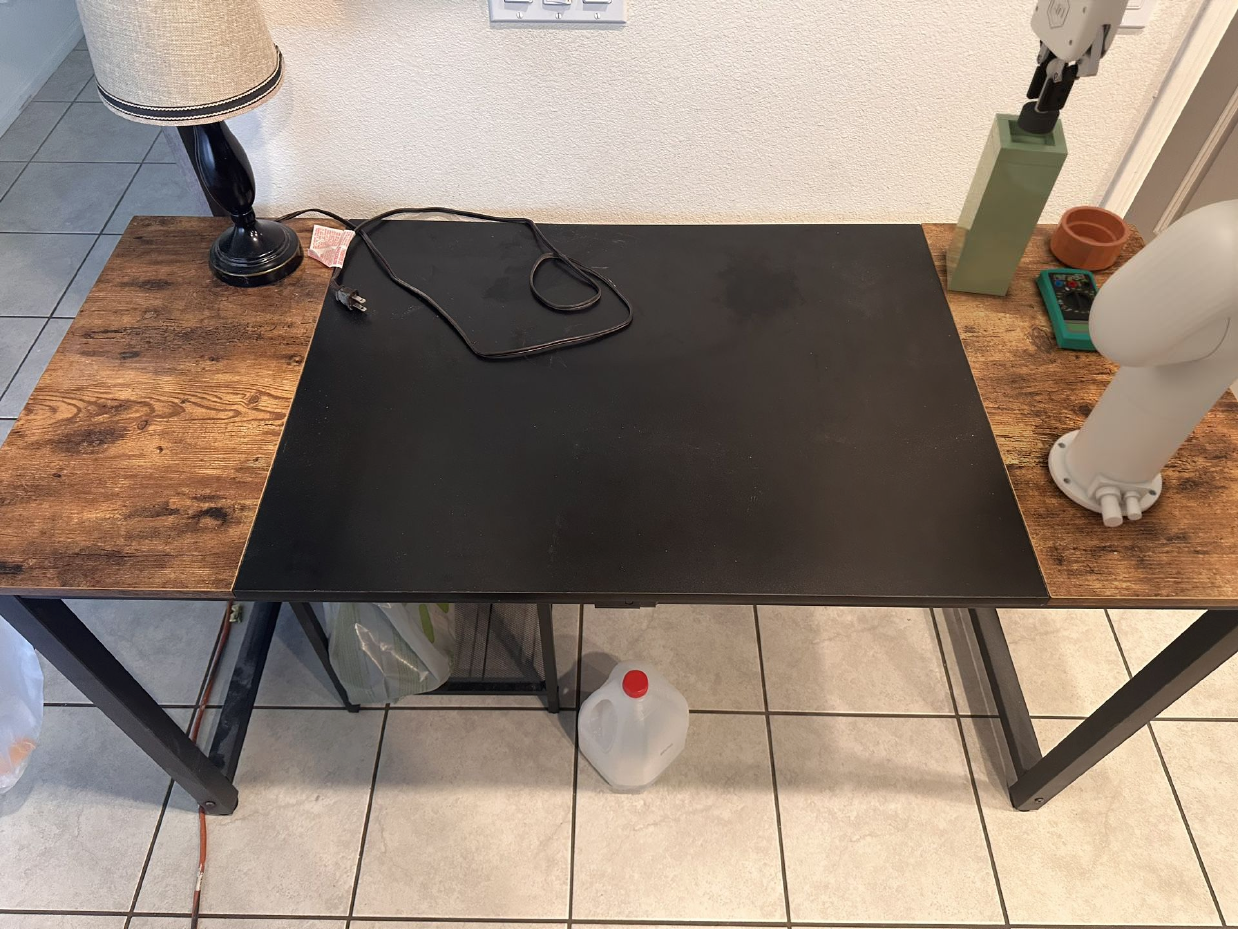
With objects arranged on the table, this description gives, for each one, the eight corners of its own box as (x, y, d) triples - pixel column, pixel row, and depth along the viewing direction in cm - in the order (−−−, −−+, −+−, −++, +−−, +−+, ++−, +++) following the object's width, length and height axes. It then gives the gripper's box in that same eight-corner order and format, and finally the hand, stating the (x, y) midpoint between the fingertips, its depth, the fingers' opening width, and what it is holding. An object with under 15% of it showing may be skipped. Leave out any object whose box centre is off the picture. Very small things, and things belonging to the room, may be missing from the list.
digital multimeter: (1084, 281, 125) (1093, 265, 123) (1112, 353, 116) (1122, 337, 114) (1033, 279, 126) (1040, 263, 123) (1057, 351, 116) (1065, 335, 114)
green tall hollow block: (1004, 296, 123) (1068, 153, 105) (947, 290, 124) (1001, 147, 106) (1000, 261, 128) (1061, 118, 110) (945, 255, 129) (996, 112, 111)
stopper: (1055, 136, 105) (1083, 69, 99) (1018, 132, 106) (1044, 66, 99) (1051, 117, 108) (1078, 50, 101) (1015, 114, 109) (1040, 48, 102)
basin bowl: (1119, 276, 126) (1135, 249, 122) (1051, 269, 127) (1065, 242, 123) (1109, 237, 131) (1124, 209, 127) (1045, 230, 132) (1057, 202, 128)
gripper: (1040, -88, 95) (987, 74, 109) (1114, -27, 85) (1044, 142, 100) (1104, -94, 95) (1042, 68, 110) (1184, -33, 86) (1105, 135, 100)
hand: (1044, 102), depth 105 cm, fingers closed on stopper, 2 cm apart
